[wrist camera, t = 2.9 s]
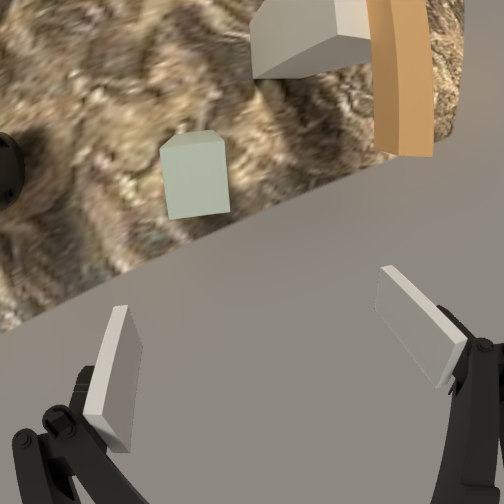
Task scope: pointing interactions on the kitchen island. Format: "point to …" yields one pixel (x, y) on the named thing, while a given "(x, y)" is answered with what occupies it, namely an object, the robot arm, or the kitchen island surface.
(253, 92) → the kitchen island surface
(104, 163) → the kitchen island surface
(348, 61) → the post
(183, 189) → the pale green tall block
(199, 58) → the kitchen island surface
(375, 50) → the bar
